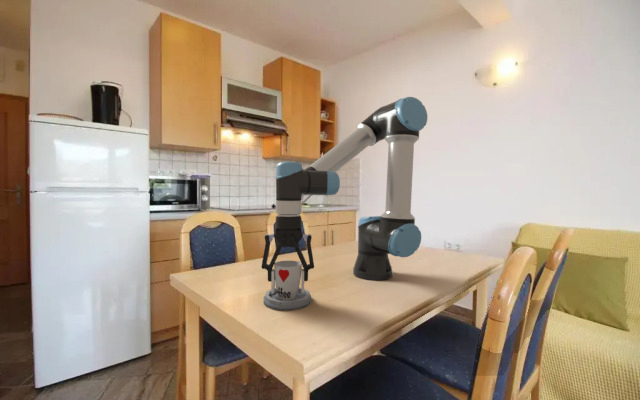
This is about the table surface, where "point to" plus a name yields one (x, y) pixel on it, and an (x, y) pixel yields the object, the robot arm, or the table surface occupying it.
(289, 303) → the tray
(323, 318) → the table surface
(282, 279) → the cup
